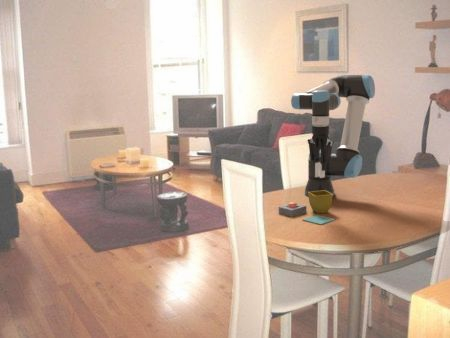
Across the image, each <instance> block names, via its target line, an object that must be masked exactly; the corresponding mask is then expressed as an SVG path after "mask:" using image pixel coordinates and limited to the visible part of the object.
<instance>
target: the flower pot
mask: <svg viewBox="0 0 450 338" xmlns="http://www.w3.org/2000/svg"><path fill="white" fill-rule="evenodd" d="M307 197H308V202H309V206H310V207H311V210H312V211H313V212H314V213H316V214H322V213H323V214H324V213H329V211H330V209H331V207H332V203H333V197H334V195H333V194H332V193H330V192H328V191H326V190H321V191H312V192H308V196H307Z"/></svg>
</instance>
